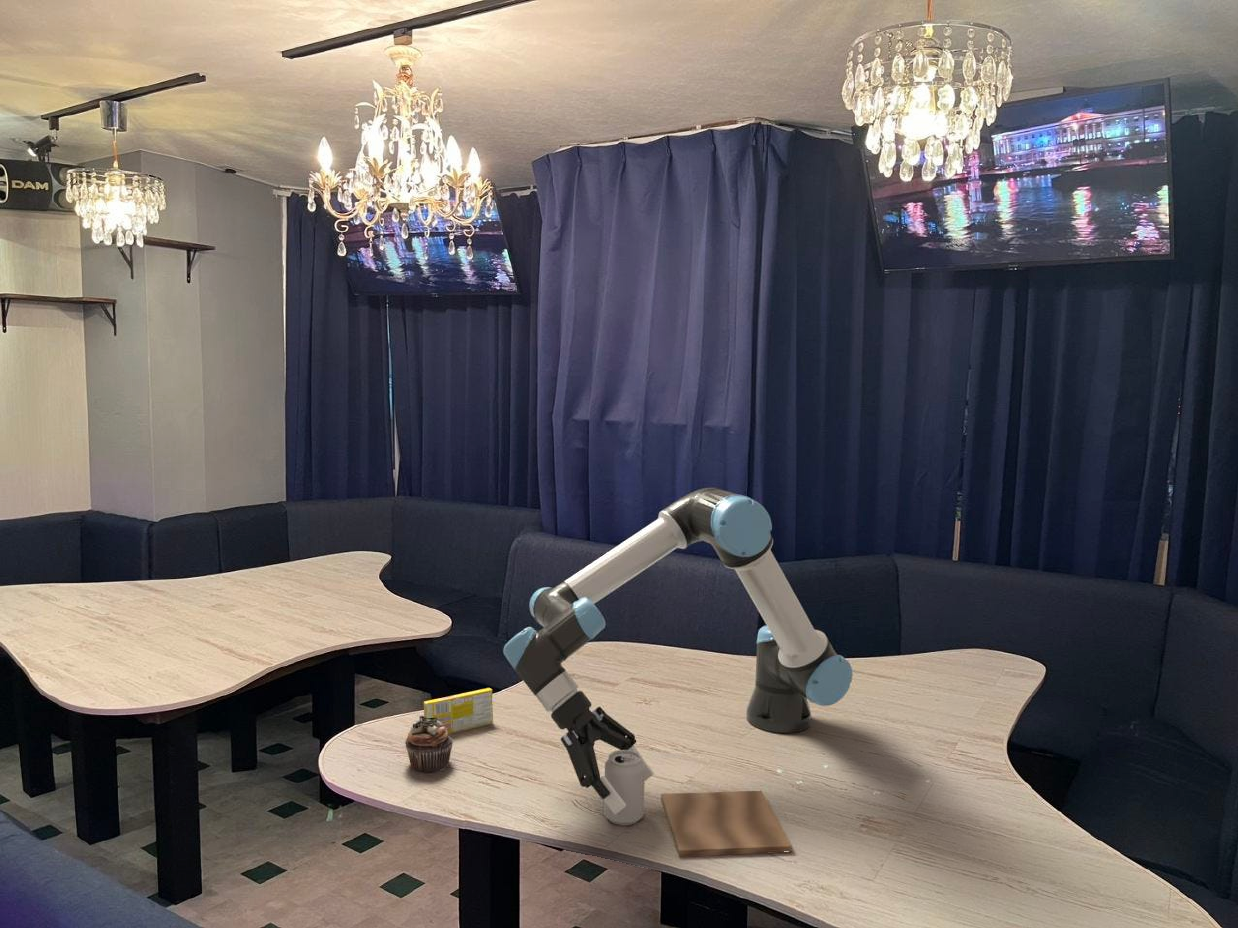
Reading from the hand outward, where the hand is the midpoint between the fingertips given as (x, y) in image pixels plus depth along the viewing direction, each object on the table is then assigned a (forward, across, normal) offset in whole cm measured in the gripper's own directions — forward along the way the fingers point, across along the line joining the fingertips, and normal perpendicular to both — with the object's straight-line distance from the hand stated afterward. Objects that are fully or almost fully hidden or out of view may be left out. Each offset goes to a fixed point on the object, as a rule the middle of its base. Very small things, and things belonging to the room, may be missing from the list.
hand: (635, 793), depth 168 cm
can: (+2, 0, -5) cm, 6 cm away
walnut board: (+14, -6, +7) cm, 17 cm away
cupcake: (-30, -2, -37) cm, 48 cm away
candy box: (-32, -19, -40) cm, 55 cm away
